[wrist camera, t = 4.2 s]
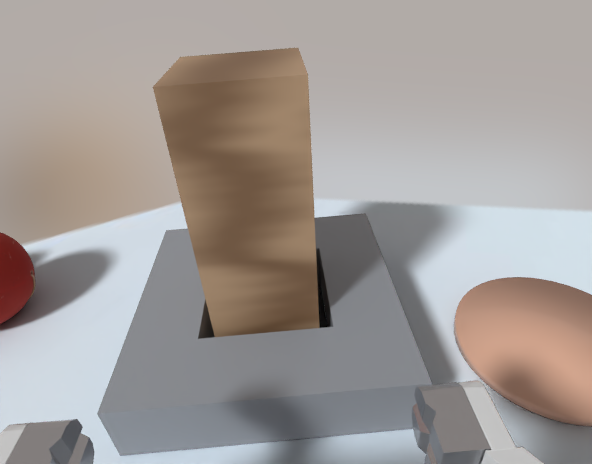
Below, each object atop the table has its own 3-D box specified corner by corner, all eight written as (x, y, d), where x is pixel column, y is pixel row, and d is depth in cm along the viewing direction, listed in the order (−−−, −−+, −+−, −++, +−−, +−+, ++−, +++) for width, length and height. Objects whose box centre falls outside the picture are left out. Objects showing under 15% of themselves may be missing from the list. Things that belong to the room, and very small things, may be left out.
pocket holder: (364, 250, 29) (365, 213, 27) (423, 427, 18) (432, 383, 16) (176, 266, 28) (166, 230, 27) (120, 455, 18) (97, 413, 16)
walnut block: (312, 295, 25) (298, 47, 18) (321, 361, 21) (307, 74, 13) (230, 302, 25) (180, 57, 17) (223, 370, 21) (152, 87, 13)
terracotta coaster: (549, 270, 26) (552, 263, 25) (710, 389, 18) (717, 380, 18) (421, 307, 24) (422, 299, 23) (543, 456, 16) (547, 448, 16)
